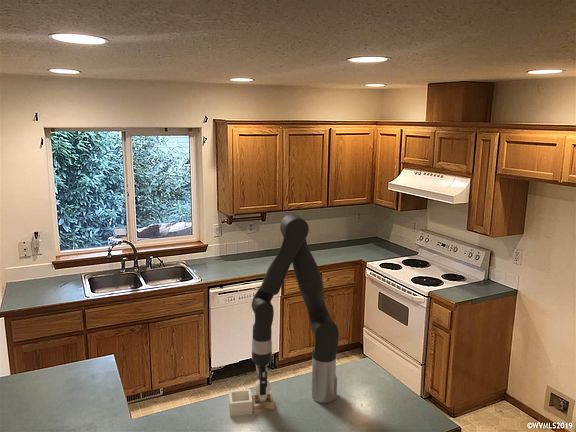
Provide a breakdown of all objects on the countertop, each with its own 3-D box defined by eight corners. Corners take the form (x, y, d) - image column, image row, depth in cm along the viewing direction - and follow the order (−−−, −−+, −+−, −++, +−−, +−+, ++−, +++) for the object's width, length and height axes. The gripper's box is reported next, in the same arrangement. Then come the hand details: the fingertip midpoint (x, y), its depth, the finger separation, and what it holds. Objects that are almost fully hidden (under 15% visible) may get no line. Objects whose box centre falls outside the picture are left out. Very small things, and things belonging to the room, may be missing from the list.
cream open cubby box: (250, 400, 179) (250, 388, 178) (252, 413, 171) (252, 401, 170) (229, 402, 178) (228, 390, 177) (230, 415, 170) (229, 403, 169)
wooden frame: (271, 398, 180) (271, 391, 180) (274, 410, 173) (274, 403, 172) (251, 400, 179) (251, 393, 179) (253, 413, 171) (253, 405, 171)
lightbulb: (268, 411, 172) (268, 385, 170) (252, 409, 174) (252, 383, 171) (272, 401, 178) (272, 376, 176) (256, 400, 180) (256, 374, 178)
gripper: (274, 357, 165) (273, 398, 168) (269, 339, 179) (268, 377, 182) (253, 358, 164) (253, 399, 167) (250, 340, 178) (250, 379, 181)
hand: (261, 388), depth 175 cm, fingers open, 8 cm apart
